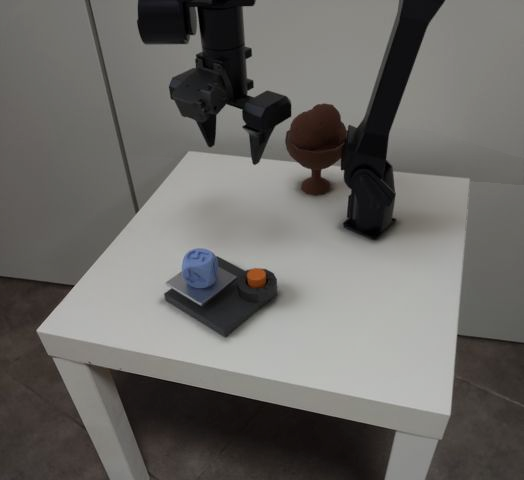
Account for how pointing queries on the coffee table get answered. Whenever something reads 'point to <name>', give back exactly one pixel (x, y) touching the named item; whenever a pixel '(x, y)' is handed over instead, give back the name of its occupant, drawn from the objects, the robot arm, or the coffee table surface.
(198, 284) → the decorative dice
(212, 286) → the scale pan
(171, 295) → the scale
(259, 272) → the tare button
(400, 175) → the coffee table surface
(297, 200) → the coffee table surface
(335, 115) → the ice cream bowl
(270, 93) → the robot arm
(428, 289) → the coffee table surface
